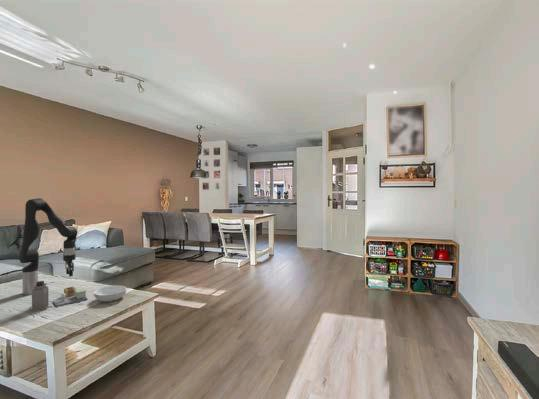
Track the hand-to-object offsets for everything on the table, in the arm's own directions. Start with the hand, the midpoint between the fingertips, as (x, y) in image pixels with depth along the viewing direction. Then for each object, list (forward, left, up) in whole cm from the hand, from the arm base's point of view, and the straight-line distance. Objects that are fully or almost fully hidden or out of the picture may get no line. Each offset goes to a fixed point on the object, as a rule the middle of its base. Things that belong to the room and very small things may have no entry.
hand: (69, 275), depth 207 cm
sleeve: (0, 0, -16) cm, 16 cm away
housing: (+11, +4, -15) cm, 19 cm away
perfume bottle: (+11, -19, -16) cm, 27 cm away
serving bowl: (+28, +19, -16) cm, 38 cm away
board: (+11, -2, -16) cm, 20 cm away
